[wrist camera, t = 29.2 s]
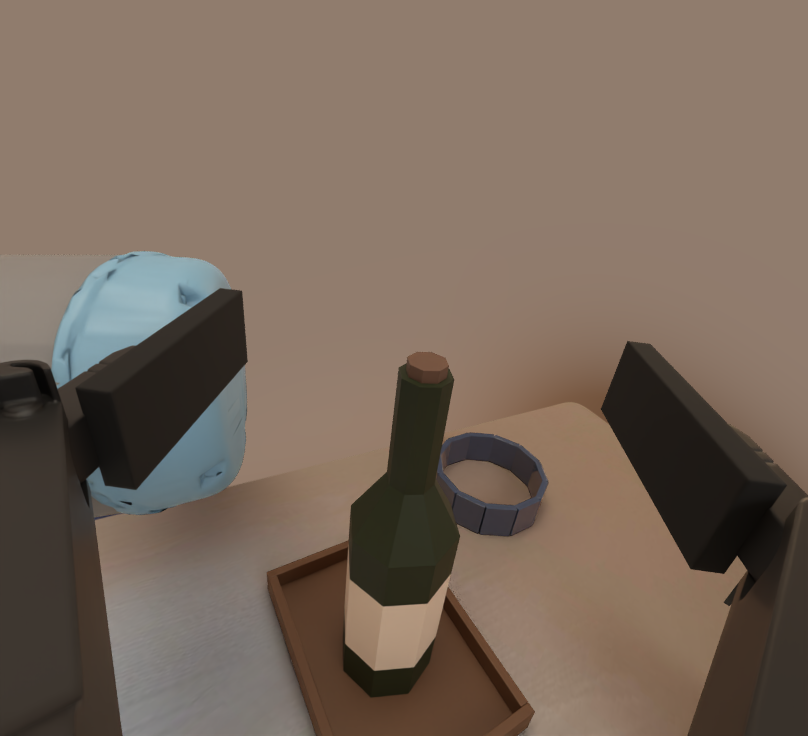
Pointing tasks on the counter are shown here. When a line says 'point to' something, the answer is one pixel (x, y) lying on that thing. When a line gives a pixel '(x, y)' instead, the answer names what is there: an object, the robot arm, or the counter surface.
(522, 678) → the counter surface
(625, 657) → the counter surface
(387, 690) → the wine bottle
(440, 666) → the tray
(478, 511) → the segmented polygonal ring
